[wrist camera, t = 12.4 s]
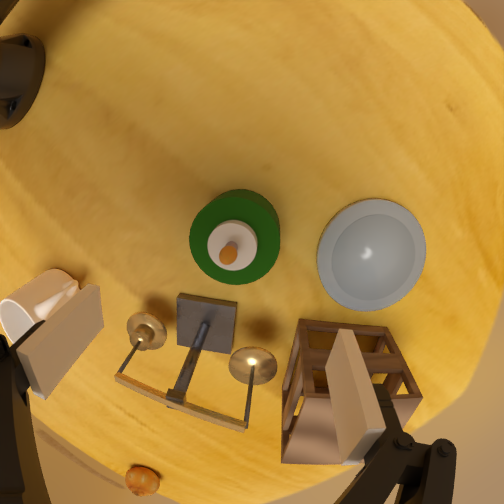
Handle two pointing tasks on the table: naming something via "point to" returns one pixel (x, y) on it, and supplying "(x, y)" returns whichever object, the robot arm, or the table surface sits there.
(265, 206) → the candle
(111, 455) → the table surface
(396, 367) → the crate
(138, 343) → the balance
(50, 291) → the mug
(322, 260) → the dish
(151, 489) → the brown onion
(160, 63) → the table surface
